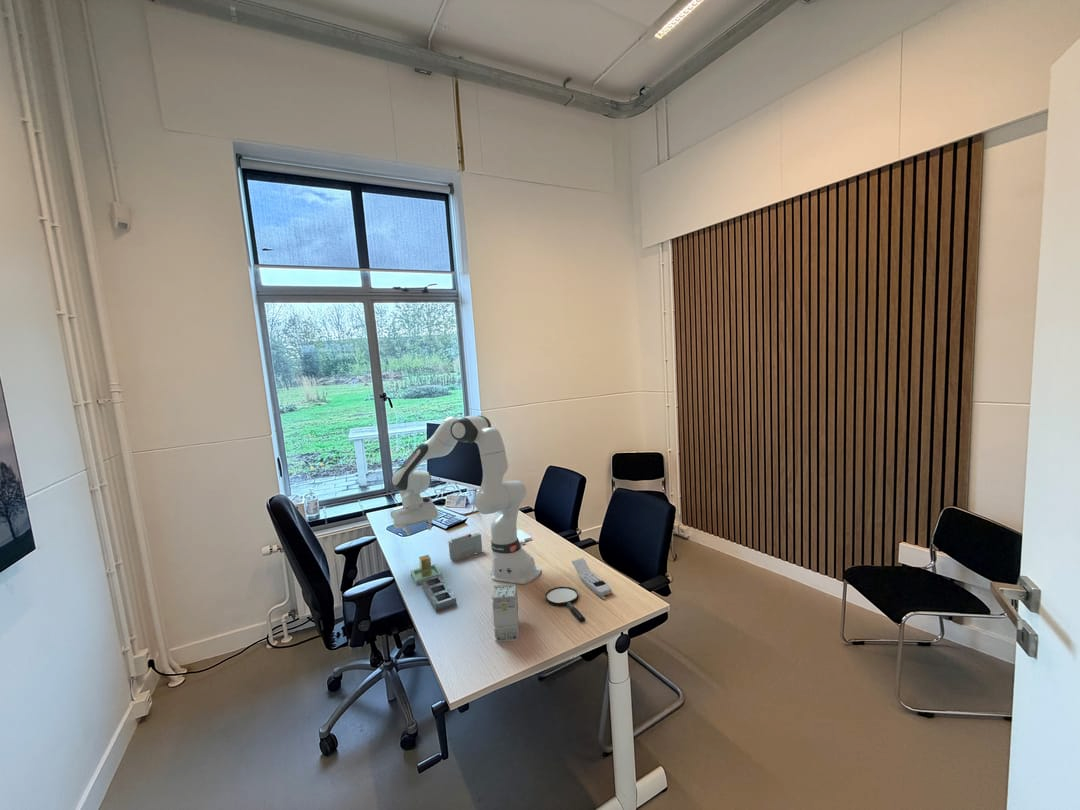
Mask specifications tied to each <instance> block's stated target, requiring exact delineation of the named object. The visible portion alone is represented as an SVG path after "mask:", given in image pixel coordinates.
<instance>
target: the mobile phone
mask: <svg viewBox="0 0 1080 810" xmlns="http://www.w3.org/2000/svg"><path fill="white" fill-rule="evenodd" d="M571 563H572V565H573V567H574V569H575V570H576V571H577V574H578V576H579V577H580V581H581V582H582V584H584V585H585V586H586V587H587V588H588V589H589V590H590V591H592V592H593V593H594V594H595V595H597V596H598V597H600V598H601V599H603V600H604V601H605V600H606V597H605V596H608V595H610V594H612V587H611V586H610V585H609V584H608V583H607V582H606V581H605V580H604V579H601V578H600V577H598V576H597V575H596V574H595V573H593V572H592V570H591V569H590V567H589V566H588V564H587V562H586V560H585V559H584V557H581V558H578V559H574V560H572V561H571Z"/></svg>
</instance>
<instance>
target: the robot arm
mask: <svg viewBox="0 0 1080 810" xmlns="http://www.w3.org/2000/svg"><path fill="white" fill-rule="evenodd" d="M458 442H462V443H469V444H473V443H475V444H476V445H477V448H478V451H479V455H480V461H481V469H482V480H481V484H480V487H479V490H478V491H477V493H476V495H475V498H474V505H475V506H474V507H475V508H476V510H477V511H478V512H479V513H480V514H482V515H490V514H495V513H496V515H495V516H494V517H493V519H492V520H491V523H490V533H491V541H490V544H491V545H490V547H491V551H492V556H491V557H492V560H491V569H490V575H491V580H492V581H496V582H504V583H509V584H520V585H525V584H528V583H531V582H532V581H534V580H535V579H536V578H538V577H539V576H540V574H541V573H542V569H541V567H539V566H536V562H535V559H534V557H533V556H531V554H530V553H528V552H527V551H526V550H525V549H523V547H522V545H521V544H523V543H522V542H523V541H522V542H519V540H518V538H517V530H518V529H517V519H518V514H519V512H520V507H521V505H522V503H523V502H524V500H525V499H526V497H527V488H526V486H525V484H524V483H523V482H522V481H521V480H518V479H517V480H516V479H514V480H513V479H512V480H507V481H504V482H503V480H504V476H505V474H506V473H507V472H508V469H509V463H508V458H507V452H506V448H505V443H504V440H503V438H502V435H501V432H500V431H499V430H498V429H497V427H496V428H495V427H492V423H491V421H490V419H489V418H488V417H486V416H484V415H467V416H461V417H457V416H454V415H453V416H452V415H451V416H448V417H446V418H445V419H444V420H443V421H442V422H441V423H440V425H439V426H438V427H437V429H436V430H435V431H434V433H433V434H432V435H431V436H430V438H428V440H426V441H424V442H422V443H420V444H419V445H418V446H417V447H416V449H414V450H413V452H412V453H411V454H410V455H409V456H408V458H407V459H406V460H405V462H404V463H403V464H402V465H401V466H399V467H398V468H397V469H396V470H395V471H394V473H393V474H392V476H391V484H392V486H393V487H394V488H395V490H396V491H399V494H400V497H401V503H402V507H401V506H400V507H398V508H393V509H392V510H391V511H390V516H391V518H392V519H393V520H392V521H393V522H392V523H393V528H395V529H403V531H404V532H405V533H406V536H410V535H411V534H412V533H411V529H408V528H407V527H410V526H414V525H418V524H423V523H428V525H427V531H430V530H432V522H433V521H436V520H438V518H439V512H438V509H437V506H436V505H435V503H433V499H432V498H431V497H424V496H421V494H422V493H424V492H425V491H427V490H428V489H429V488H430V487H431V485H432V476H431V474H430V473H429V471H428V470H422V469H421V470H420V469H417V468H418V467H419V466H420V465H421V463H423V462H424V461H427V460H430V459H434V458H443V457H444V456H446V457H447V455H449V454H450V453H451V452H452V451H453V450H454V448H455V446H457V443H458Z"/></svg>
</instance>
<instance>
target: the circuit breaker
mask: <svg viewBox="0 0 1080 810" xmlns="http://www.w3.org/2000/svg"><path fill="white" fill-rule="evenodd" d="M516 584H517V583H509V584H507V583H506V584H496V585H493V587H492V594H491V596H492V597H491V599H492V600H491V602H492V603H491V604H492V611H493V625H494V626H493V628H494V638H495V640H494V642H495V643H497V642H509V641H518V640H519V628H520V625H519V623H520V622H519V603H518V602H519V600H518V590H517V587H516V586H517V585H516Z"/></svg>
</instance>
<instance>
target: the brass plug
mask: <svg viewBox="0 0 1080 810" xmlns="http://www.w3.org/2000/svg"><path fill="white" fill-rule="evenodd" d="M418 558H419V560H418V561H419V568H420V572H421V576H422V578H423V577H427V576H430V575H432V570H431V565H432V562H431V560H432V559H431V557H430V555H429V554H426V555H421V556H418Z"/></svg>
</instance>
